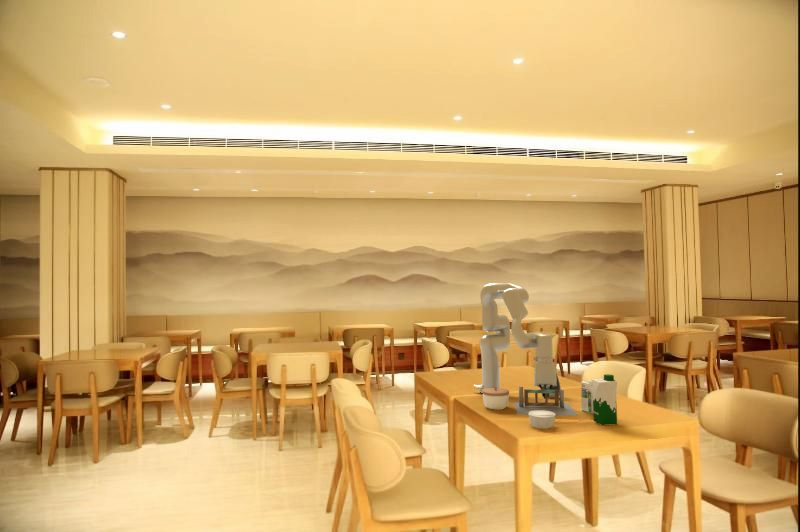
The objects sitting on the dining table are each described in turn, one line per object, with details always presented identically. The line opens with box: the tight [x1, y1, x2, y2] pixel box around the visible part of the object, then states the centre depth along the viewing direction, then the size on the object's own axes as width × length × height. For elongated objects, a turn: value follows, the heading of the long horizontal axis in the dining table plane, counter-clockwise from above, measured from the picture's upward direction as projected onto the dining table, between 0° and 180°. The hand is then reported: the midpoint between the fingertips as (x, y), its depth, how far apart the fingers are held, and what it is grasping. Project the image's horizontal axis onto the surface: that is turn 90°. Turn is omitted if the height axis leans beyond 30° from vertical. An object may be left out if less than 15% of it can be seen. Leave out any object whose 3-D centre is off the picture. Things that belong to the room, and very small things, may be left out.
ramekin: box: [527, 410, 557, 430], centre depth 220 cm, size 11×11×5 cm
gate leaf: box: [523, 388, 560, 407], centre depth 248 cm, size 16×2×8 cm, turn 82°
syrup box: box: [580, 380, 593, 414], centre depth 238 cm, size 6×6×14 cm
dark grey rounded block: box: [539, 373, 562, 399], centre depth 272 cm, size 10×10×15 cm
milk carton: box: [591, 374, 618, 426], centre depth 224 cm, size 9×9×20 cm
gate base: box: [513, 386, 579, 417], centre depth 245 cm, size 26×24×10 cm
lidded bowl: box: [482, 386, 510, 411], centre depth 249 cm, size 13×13×11 cm
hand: (545, 398), depth 253 cm, fingers closed
